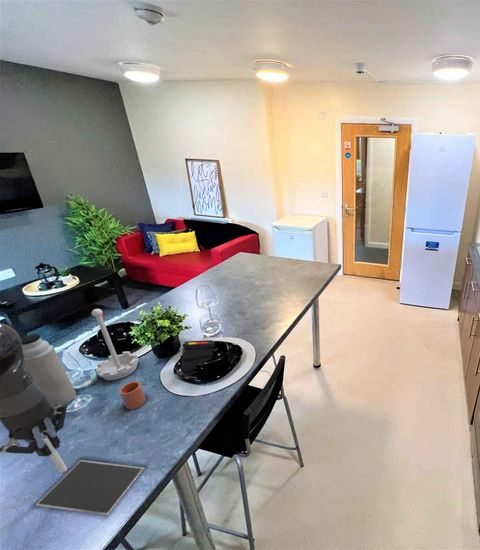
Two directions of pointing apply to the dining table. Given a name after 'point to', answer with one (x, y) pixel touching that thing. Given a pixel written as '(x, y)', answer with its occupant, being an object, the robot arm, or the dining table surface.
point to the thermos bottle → (47, 370)
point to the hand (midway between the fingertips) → (51, 450)
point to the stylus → (55, 456)
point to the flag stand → (114, 356)
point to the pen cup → (132, 395)
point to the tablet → (91, 487)
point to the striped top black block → (195, 355)
